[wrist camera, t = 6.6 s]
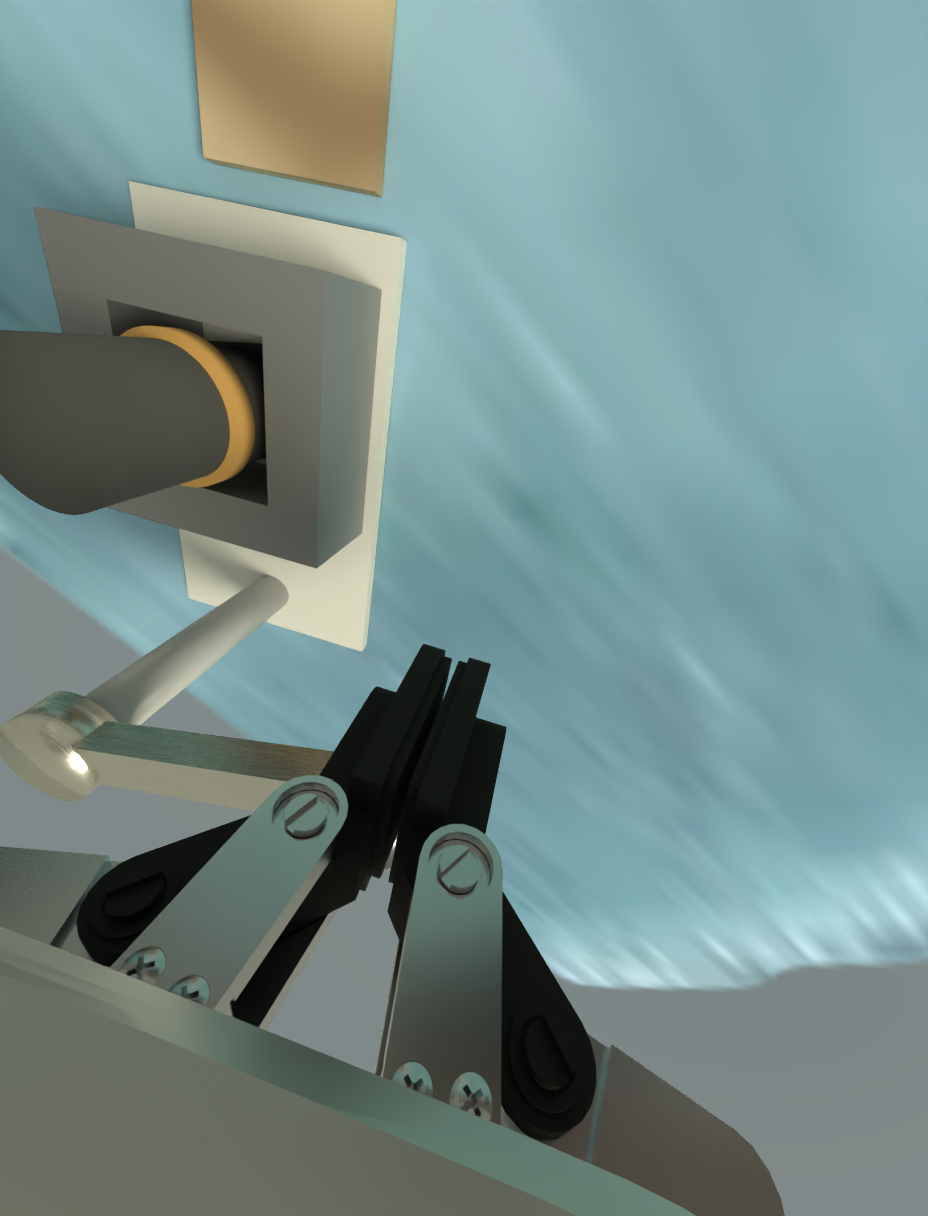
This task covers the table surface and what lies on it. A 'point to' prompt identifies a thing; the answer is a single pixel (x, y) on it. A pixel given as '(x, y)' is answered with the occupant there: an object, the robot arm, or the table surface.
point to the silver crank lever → (145, 757)
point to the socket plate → (336, 254)
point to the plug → (126, 414)
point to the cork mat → (296, 87)
